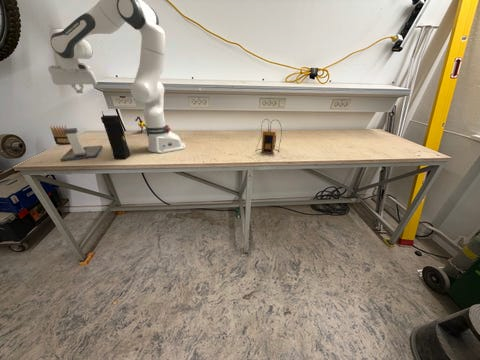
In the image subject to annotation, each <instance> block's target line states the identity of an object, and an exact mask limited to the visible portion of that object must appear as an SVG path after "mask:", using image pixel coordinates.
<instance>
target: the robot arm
mask: <svg viewBox="0 0 480 360" xmlns="http://www.w3.org/2000/svg"><path fill="white" fill-rule="evenodd" d="M125 23H127V25H129V26H131V27H132V28H133V29H134V30H136V31H139V32H140V35H141V42H140V43H141V45H140V54H139V64H138V68H137V72H136V75H135V77H134V78H135V79H134V80H133V83H132V84H131V86H130V94H131V96H132V98H133V99H135V100H136V101H138V102H140V103H144V107H143V112H142V113H143V118H144V121H145V124H146V127H145V129H146V131H145V134H146V133H147V134H146V137H147V140H148V147H147V148H148V149H147V150H148V152H152V153H158V154H164V153H165V154H166V153H171V152H176V151H181V150H185V149H186V143H185V142H183V141H182V140H181V137H180V136H179V135H178V134H176V133H174V132H172V131H171V130H172V128H171V126H170V125H168V124H166V118H165V114H164V110H165V109H164V102H165V101H164V95H165V92H166V91H165V86H164V84H163V83H162V82H161V81H160V79H161V78H160V77H161V75H162V74H163V71H164V63H165V56H166V33H165V30H164V29H163V28H162V26H159V24H160V22H159V16H158V15H157V12H156V11H155V10H154V9H153V8H152V7H151V6H149V5H148V4H146V2H144V1H143V0H99V1H98V2H97V3H96V4H95V5H94V6H92V7H91V8H90V9H88V10H87V12H85V13H83V14H82V15H80V16H78V17H77V18H75V20H74V21H72V22H71V23H70V24H69V25H67V26H66V27H65V28H59V27H58V28H52V29H50V30H49V39H50V45H51V48H52V49H53V51H54V53H55V54H56V57H57V61H58V64H59V65H50V66H48V72H49V74H50V76H51V80H52V82H53V84H55V85H56V86H59V85H61V86H62V85H64V86H65V85H66V86H68V85H71V87H72V88H73V89H74V90H75V92H76V94H84V90H83V89H84V87H85V86H84V85H97V84H98V80H97V77H96V75H95V73H94V71H92V68H91V66H90V65H88V64H85V63H83V62H79V60H82V59H83V60H88V59H91V58H92V57H93V54H94V51H93V47H92V45H91V44H90V42H89V41H88V40H87V39H86V38H87V37H89V36H92V35H97V34H101V35H103V34H104V35H105V34H106V35H111V34H113V33H115V32H117V31H118V30H119V29H120V28H121V27H122V26H124V24H125ZM76 85H78V86H79V87H80V88H79V89H78V88H77V86H76Z"/></svg>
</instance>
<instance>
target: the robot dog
mask: <svg viewBox="0 0 480 360" xmlns="http://www.w3.org/2000/svg"><path fill="white" fill-rule="evenodd" d="M138 120H139V122H138V123H137V125H138V127H139V128H140V134H141V133H143V129H144V128H145V129H144V131H145V132H146V124H145V120H142V119H141V117H140V116H139V115H138V116H137V117H136V118H135V119H134V121H135V122H137V121H138Z"/></svg>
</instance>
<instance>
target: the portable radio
mask: <svg viewBox="0 0 480 360" xmlns="http://www.w3.org/2000/svg"><path fill="white" fill-rule="evenodd" d="M101 114H102V116H101V117H100V119H101V123H102V124H103V126H104V129H105V132H106V136H107V139H108V142H109V145H110V148H111V152H112V156H113V158H114V159H115V160H126V159H127V158H129V157H131V152H130V148H129V146H128V142H127V139H126V136H125V131H124V127H123V125H122V122H121V119H120V115H115V114H113V115H105V114H104V111H101Z"/></svg>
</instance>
